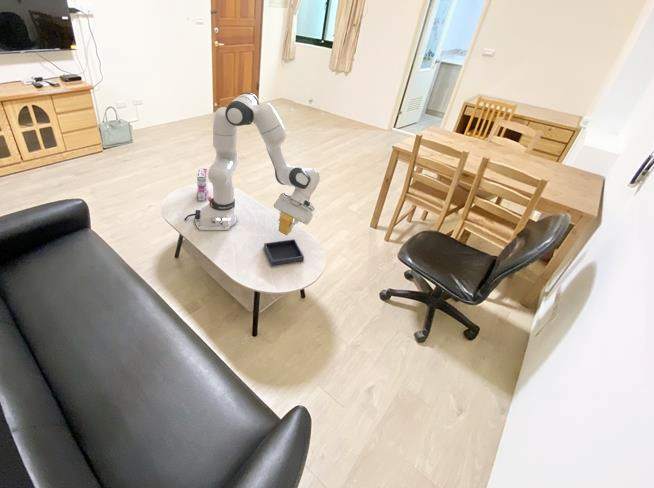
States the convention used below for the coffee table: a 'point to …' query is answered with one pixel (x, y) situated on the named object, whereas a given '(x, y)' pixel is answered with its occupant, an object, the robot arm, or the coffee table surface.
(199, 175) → the candy bar box
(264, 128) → the robot arm
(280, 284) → the coffee table surface
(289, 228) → the cheese
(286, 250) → the pan
